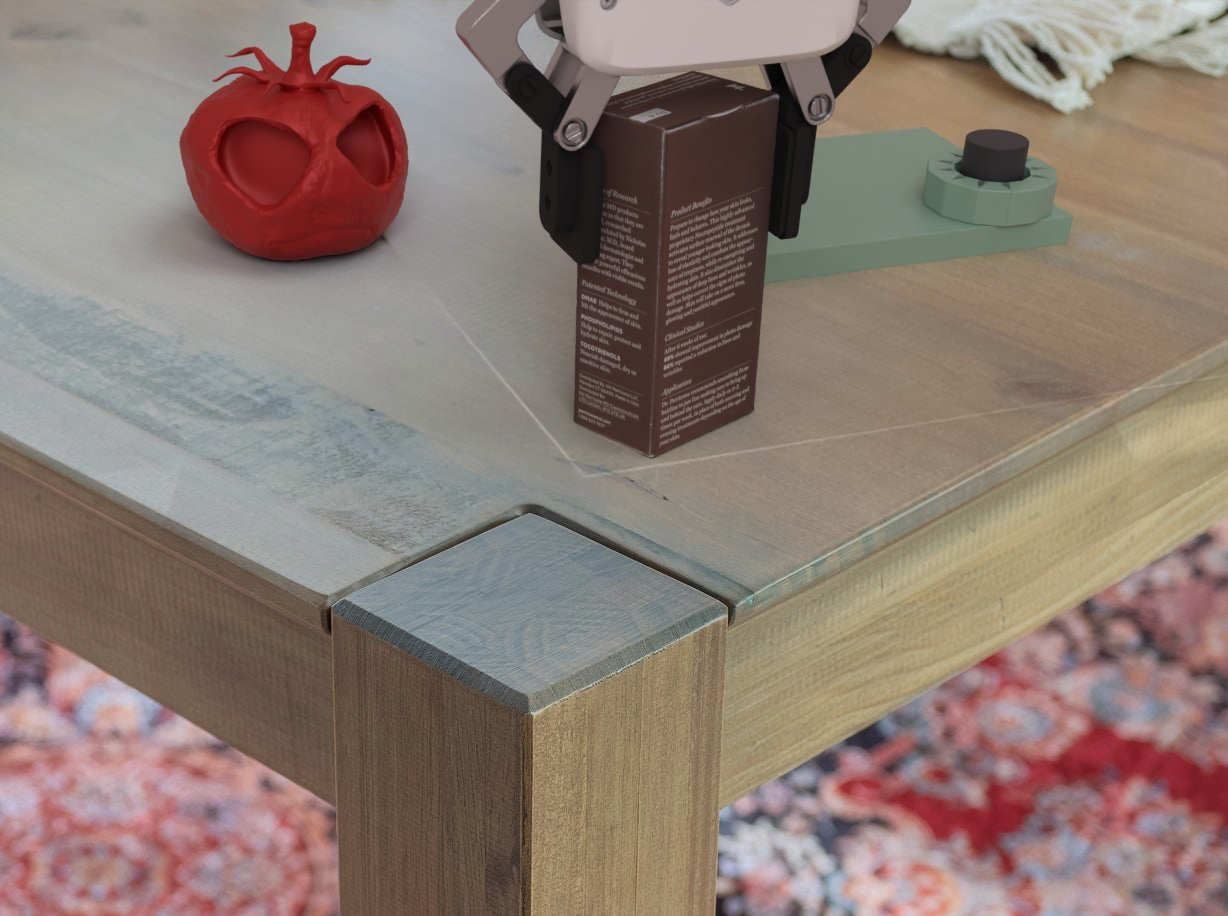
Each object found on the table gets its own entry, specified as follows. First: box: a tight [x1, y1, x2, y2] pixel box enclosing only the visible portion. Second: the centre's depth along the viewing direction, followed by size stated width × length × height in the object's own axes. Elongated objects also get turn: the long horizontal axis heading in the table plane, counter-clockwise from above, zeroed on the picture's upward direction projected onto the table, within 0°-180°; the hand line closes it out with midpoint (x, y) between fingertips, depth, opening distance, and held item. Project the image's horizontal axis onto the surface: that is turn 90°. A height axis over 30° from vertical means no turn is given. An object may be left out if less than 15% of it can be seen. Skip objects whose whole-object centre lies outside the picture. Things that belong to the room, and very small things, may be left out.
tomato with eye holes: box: [178, 21, 410, 261], centre depth 83 cm, size 10×10×9 cm
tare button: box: [960, 128, 1030, 183], centre depth 86 cm, size 3×3×2 cm
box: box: [573, 71, 779, 458], centre depth 68 cm, size 6×4×12 cm
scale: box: [764, 126, 1074, 284], centre depth 88 cm, size 16×13×3 cm
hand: (672, 234), depth 67 cm, fingers closed on box, 7 cm apart
